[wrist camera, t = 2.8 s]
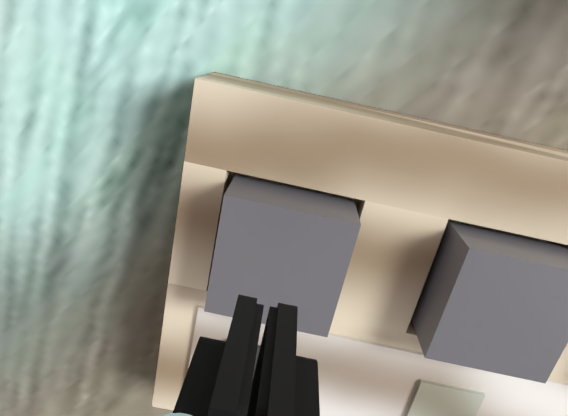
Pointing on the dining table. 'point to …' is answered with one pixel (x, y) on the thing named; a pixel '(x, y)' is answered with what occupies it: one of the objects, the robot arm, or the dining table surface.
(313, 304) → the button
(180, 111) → the dining table surface
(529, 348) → the button middle
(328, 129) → the button board
